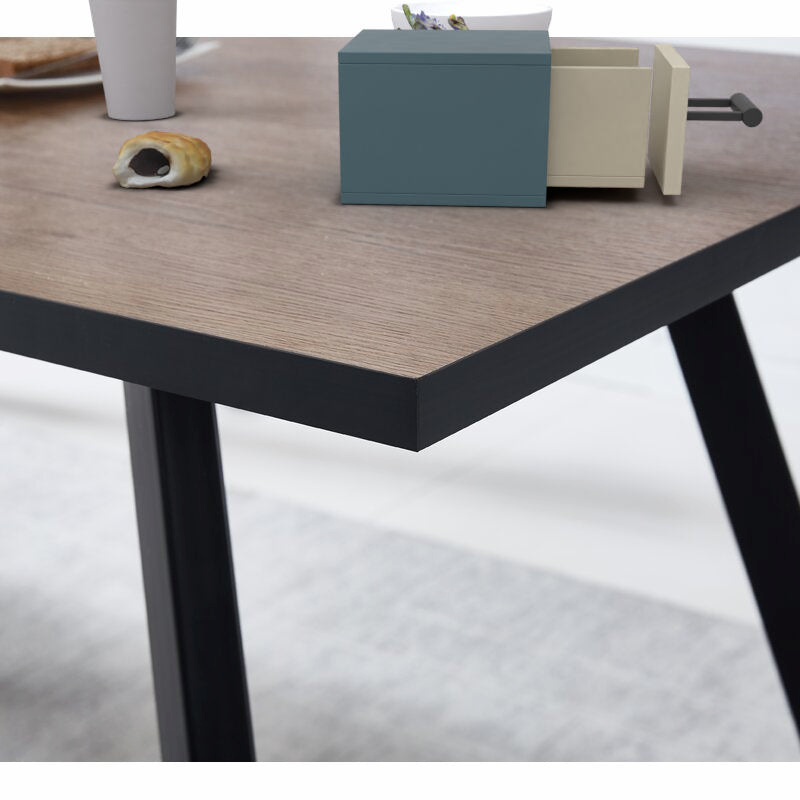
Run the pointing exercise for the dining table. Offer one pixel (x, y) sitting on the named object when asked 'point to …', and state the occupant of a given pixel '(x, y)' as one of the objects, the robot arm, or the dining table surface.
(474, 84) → the cabinet
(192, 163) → the pastry
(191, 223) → the dining table surface
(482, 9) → the bowl
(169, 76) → the coffee cup
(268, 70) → the dining table surface
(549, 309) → the dining table surface
